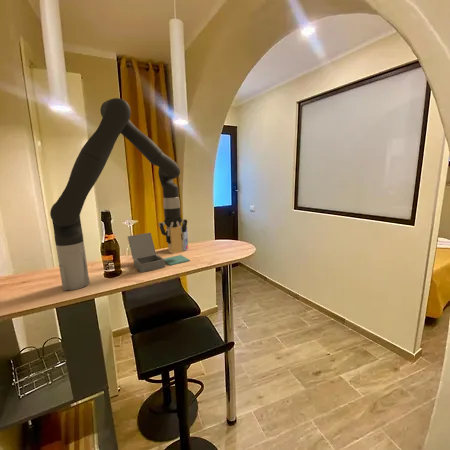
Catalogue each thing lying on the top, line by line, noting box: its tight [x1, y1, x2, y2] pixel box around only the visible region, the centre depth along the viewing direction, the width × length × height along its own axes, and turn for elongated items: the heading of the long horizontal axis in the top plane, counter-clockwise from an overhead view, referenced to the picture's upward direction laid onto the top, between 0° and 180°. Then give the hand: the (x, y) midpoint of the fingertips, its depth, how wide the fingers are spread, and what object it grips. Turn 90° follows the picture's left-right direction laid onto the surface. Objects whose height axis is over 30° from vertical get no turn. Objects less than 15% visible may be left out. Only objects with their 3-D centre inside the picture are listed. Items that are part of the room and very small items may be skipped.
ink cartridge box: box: [180, 223, 189, 252], centre depth 149 cm, size 10×6×14 cm, turn 78°
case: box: [132, 253, 166, 273], centre depth 124 cm, size 11×11×4 cm
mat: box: [163, 254, 191, 266], centre depth 132 cm, size 10×10×1 cm
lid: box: [127, 232, 157, 259], centre depth 131 cm, size 11×11×2 cm
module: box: [167, 226, 183, 254], centre depth 129 cm, size 5×5×12 cm
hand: (174, 242), depth 130 cm, fingers closed on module, 5 cm apart
